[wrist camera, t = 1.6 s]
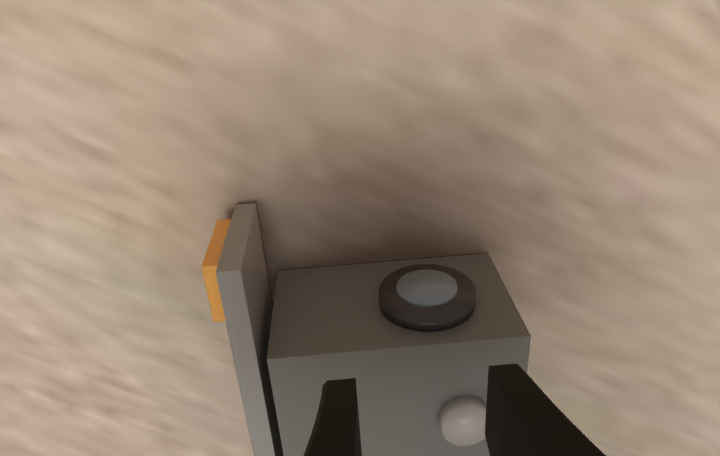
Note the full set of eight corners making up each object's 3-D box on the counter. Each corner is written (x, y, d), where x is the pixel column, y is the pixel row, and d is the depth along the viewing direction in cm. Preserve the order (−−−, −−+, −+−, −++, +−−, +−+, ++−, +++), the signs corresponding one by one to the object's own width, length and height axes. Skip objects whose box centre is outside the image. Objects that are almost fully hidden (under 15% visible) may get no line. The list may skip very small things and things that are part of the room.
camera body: (478, 439, 27) (514, 557, 22) (304, 455, 26) (301, 578, 21) (488, 237, 22) (538, 331, 17) (275, 255, 21) (262, 355, 16)
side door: (301, 469, 26) (298, 563, 22) (270, 472, 26) (262, 567, 22) (259, 202, 20) (245, 269, 16) (219, 205, 20) (195, 273, 16)
